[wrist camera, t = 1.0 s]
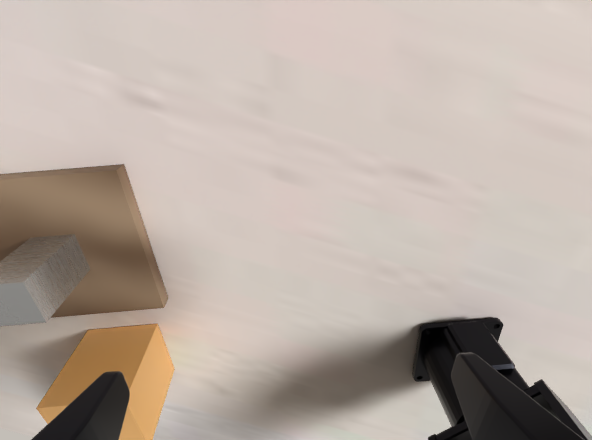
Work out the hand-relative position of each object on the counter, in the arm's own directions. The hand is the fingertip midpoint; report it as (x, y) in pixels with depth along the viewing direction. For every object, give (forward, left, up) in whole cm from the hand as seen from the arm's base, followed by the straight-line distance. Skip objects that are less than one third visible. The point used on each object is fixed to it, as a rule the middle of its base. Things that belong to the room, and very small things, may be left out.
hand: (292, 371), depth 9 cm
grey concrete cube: (-3, +14, -13) cm, 19 cm away
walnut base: (-3, +14, -13) cm, 19 cm away
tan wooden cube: (-13, +13, -13) cm, 22 cm away
